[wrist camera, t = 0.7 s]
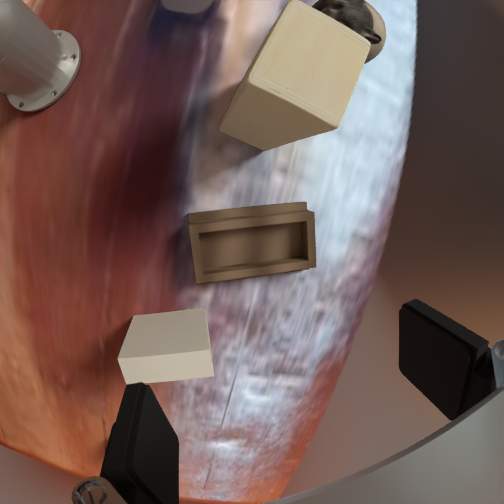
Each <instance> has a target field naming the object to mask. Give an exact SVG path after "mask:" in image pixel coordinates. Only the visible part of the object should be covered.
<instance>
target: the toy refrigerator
mask: <svg viewBox="0 0 504 504" xmlns="http://www.w3.org/2000/svg"><path fill="white" fill-rule="evenodd" d="M370 47H371V43H370V42H369V41H368V40H367V39H365V38H364V37H362V36H361V35H359V34H358V33H356V32H354V31H353V30H351V29H350V28H348V27H346V26H344V25H343V24H341V23H339V22H338V21H336V20H334V19H333V18H331V17H329V16H327V15H325V14H324V13H322V12H320V11H318V10H316V9H314V8H312V7H310V6H308V5H306V4H304V3H302V2H300V1H298V0H289V1H288V2H287V4H286V6H285V7H284V9H283V10H282V12H281V14H280V15H279V17H278V18H277V20H276V22H275V23H274V25H273V27H272V28H271V30H270V31H269V33H268V35H267V37H266V38H265V40H264V42H263V43H262V45H261V47H260V49H259V50H258V52H257V54H256V56H255V57H254V59H253V61H252V63H251V65H250V66H249V68H248V70H247V72H246V74H245V76H244V77H243V79H242V81H241V83H240V85H239V87H238V89H237V91H236V93H235V95H234V97H233V99H232V101H231V103H230V105H229V107H228V109H227V111H226V113H225V115H224V118H223V120H222V122H221V124H220V126H219V128H218V131H219V132H221V133H224V134H226V135H228V136H231V137H233V138H235V139H238V140H240V141H242V142H244V143H247V144H249V145H251V146H253V147H256V148H258V149H260V150H262V151H266V150H270V149H273V148H276V147H279V146H282V145H285V144H288V143H291V142H294V141H297V140H300V139H304V138H307V137H311V136H314V135H317V134H321V133H325V132H328V131H332V130H335V129H337V128H338V127H339V125H340V123H341V121H342V118H343V116H344V113H345V111H346V108H347V106H348V103H349V101H350V98H351V96H352V93H353V91H354V88H355V86H356V83H357V81H358V78H359V76H360V73H361V70H362V68H363V65H364V63H365V60H366V58H367V55H368V53H369V50H370Z"/></svg>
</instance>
